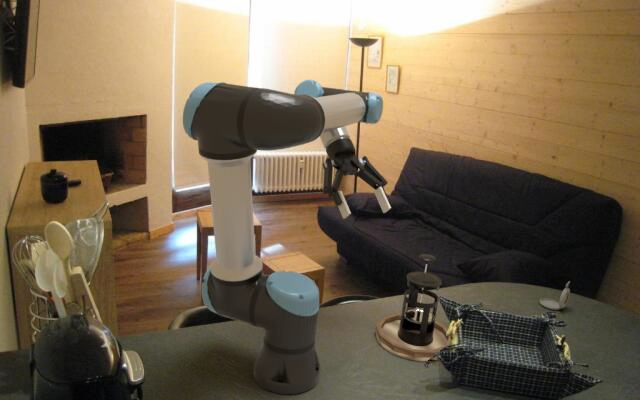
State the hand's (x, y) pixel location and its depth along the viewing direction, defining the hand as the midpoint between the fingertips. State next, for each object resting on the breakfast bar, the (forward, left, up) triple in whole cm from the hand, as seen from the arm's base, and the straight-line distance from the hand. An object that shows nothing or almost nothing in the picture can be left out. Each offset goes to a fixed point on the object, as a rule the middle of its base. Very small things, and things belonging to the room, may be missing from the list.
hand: (367, 213), depth 135 cm
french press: (+10, -12, -32) cm, 36 cm away
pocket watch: (+66, -20, -33) cm, 76 cm away
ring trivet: (+10, -13, -33) cm, 36 cm away
